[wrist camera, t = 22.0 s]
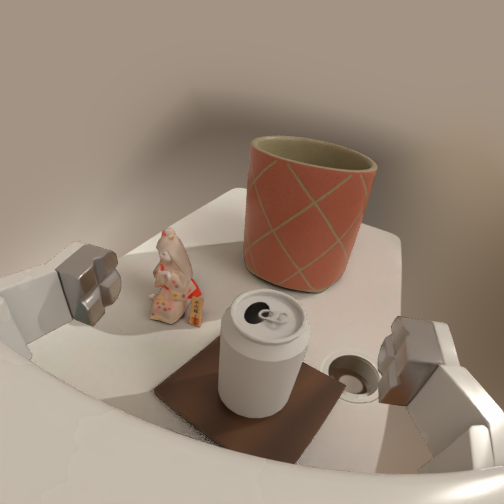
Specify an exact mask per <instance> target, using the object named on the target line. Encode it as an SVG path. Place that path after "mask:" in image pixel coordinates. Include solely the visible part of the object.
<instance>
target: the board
mask: <svg viewBox="0 0 504 504" xmlns="http://www.w3.org/2000/svg"><path fill="white" fill-rule="evenodd" d="M219 355H220V336H219V337H218V338H217V339H216V340H214V341H213V342H212V343H211V344H210V345H208V346H207V347H206V348H205V349H203V350H202V351H201V352H200V353H199V354H197V355H196V356H195V357H194V358H192V359H191V360H190V361H189V362H187V363H186V364H185V365H184V366H183V367H181V368H180V369H179V370H178V371H176V372H175V373H174V374H172V375H171V376H170V377H169V378H167V379H166V380H165V381H164V382H162V383H161V384H160V385H159V386H157V387H156V388H155V389H154V392H155V394H156V395H157V396H158V397H159V398H160V399H161V400H162V401H164V402H165V403H166V404H167V405H168V406H169V407H171V408H172V409H173V410H174V411H175V412H177V413H178V414H179V415H180V416H182V417H183V418H184V419H185V420H187V421H188V422H189V423H190V424H192V425H193V426H194V427H195V428H197V429H198V430H199V431H201V432H202V433H203V434H205V435H206V436H207V437H209V438H210V439H211V440H213V441H214V442H215V443H217V444H218V445H220V446H221V447H222V448H225V449H229V450H233V451H237V452H240V453H244V454H248V455H253V456H257V457H261V458H266V459H270V460H275V461H280V462H285V463H291V464H295V463H296V462H297V460H298V459H299V457H300V456H301V455H302V453H303V452H304V451H305V449H306V448H307V446H308V445H309V443H310V442H311V441H312V439H313V438H314V436H315V435H316V433H317V432H318V430H319V429H320V427H321V426H322V424H323V423H324V421H325V420H326V418H327V417H328V415H329V413H330V412H331V410H332V409H333V407H334V405H335V404H336V402H337V401H338V399H339V397H340V396H341V394H342V392H343V391H344V389H345V387H346V385H344V384H343V383H341V382H339V381H337V380H335V379H333V378H331V377H329V376H328V375H326V374H324V373H322V372H320V371H318V370H316V369H315V368H313V367H311V366H309V365H307V364H305V363H304V362H302V364H301V367H300V370H299V372H298V375H297V378H296V380H295V383H294V386H293V388H292V391H291V394H290V396H289V399H288V401H287V403H286V404H285V405H284V407H283V408H282V409H281V410H280V411H278V412H277V413H275V414H273V415H271V416H267V417H264V418H248V417H245V416H241V415H238V414H236V413H235V412H233V411H232V410H230V409H229V408H227V406H226V405H225V404H224V403H223V401H222V400H221V398H220V395H219V392H218V377H219Z"/></svg>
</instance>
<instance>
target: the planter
mask: <svg viewBox="0 0 504 504" xmlns="http://www.w3.org/2000/svg"><path fill="white" fill-rule="evenodd" d="M248 170H249V171H248V183H247V198H246V215H245V231H244V247H243V250H244V258H245V263H246V267H247V269H248V270H249V271H250V272H251V273H253V274H254V275H256V276H258V277H260V278H262V279H264V280H266V281H268V282H270V283H273V284H275V285H278V286H281V287H285V288H289V289H294V290H299V291H306V292H314V293H320V292H323V291H325V290H326V289H327V288H328V287H329V286H331V285H332V284H334V283H335V282H336V281H338V280H339V279H340V278H341V276H342V275H343V273H344V271H345V269H346V266H347V263H348V260H349V257H350V254H351V251H352V249H353V246H354V243H355V240H356V237H357V234H358V231H359V228H360V225H361V222H362V218H363V216H364V212H365V209H366V206H367V203H368V199H369V196H370V192H371V189H372V185H373V182H374V178H375V174H376V171H377V165H376V164H375V162H374V161H372V160H371V159H370V158H368V157H366V156H365V155H363V154H361V153H358V152H356V151H354V150H351V149H348V148H345V147H342V146H339V145H336V144H332V143H328V142H324V141H319V140H314V139H308V138H301V137H291V136H265V137H260V138H256V139H254V140H252V141H251V144H250V157H249V169H248Z"/></svg>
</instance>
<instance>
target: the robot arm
mask: <svg viewBox="0 0 504 504" xmlns="http://www.w3.org/2000/svg"><path fill="white" fill-rule="evenodd" d="M117 265H118V261H117V256H116V254H115V253H114V252H113V251H111V250H107V249H104V248H101V247H97V246H94V245H91V244H87V243H83V242H80V241H74V242H72V243H71V244H70V245H68V246H67V247H66V248H64V249H63V250H62V251H61V252H59V253H58V254H57V255H56V256H54V257H53V258H52V259H51V260H49V261H48V262H47V263H46V264H44V265H37V266H34V267H31V268H28V269H25V270H22V271H19V272H16V273H13V274H10V275H8V276H4V277H1V278H0V504H504V412H503V411H502V410H501V409H500V407H499V406H498V405H497V404H496V403H495V402H494V400H493V399H492V398H491V397H490V396H489V394H488V393H487V392H486V391H485V390H484V389H483V387H482V386H481V385H480V384H479V383H478V382H477V381H476V380H475V378H474V377H473V376H472V375H471V374H470V373H469V372H468V371H467V369H466V368H465V367H460V364H459V360H458V357H457V353H456V350H455V346H454V343H453V340H452V336H451V333H450V330H449V327H448V325H447V324H446V323H441V322H435V321H425V320H419V319H414V318H408V317H402V316H397V317H396V319H395V320H394V322H393V324H392V325H391V331H392V334H391V335H389V336H388V337H386V338H385V339H384V341H383V343H382V345H381V348H380V352H379V355H378V371H379V373H380V374H381V375H382V378H381V380H380V381H379V383H378V391H379V403H384V404H392V405H399V406H407V407H406V409H407V411H408V413H409V414H410V416H411V418H412V420H413V421H414V423H415V425H416V427H417V428H418V430H419V432H420V434H421V436H422V438H423V439H424V441H425V443H426V445H427V447H428V449H429V451H430V452H431V454H432V456H433V459H431V460H430V461H428V462H427V463H426V464H424V465H423V466H421V467H420V468H419V469H418V470H417V474H381V473H363V472H350V471H340V470H331V469H323V468H316V467H309V466H303V465H297V464H291V463H285V462H280V461H275V460H270V459H266V458H261V457H257V456H253V455H248V454H244V453H240V452H237V451H233V450H229V449H225V448H222V447H218V446H215V445H212V444H208V443H205V442H202V441H199V440H196V439H193V438H190V437H187V436H184V435H181V434H178V433H175V432H173V431H170V430H167V429H165V428H162V427H159V426H157V425H154V424H152V423H149V422H147V421H144V420H142V419H140V418H137V417H135V416H133V415H130V414H128V413H126V412H124V411H121V410H119V409H117V408H115V407H113V406H111V405H109V404H106V403H104V402H102V401H100V400H98V399H96V398H94V397H92V396H90V395H88V394H87V393H85V392H83V391H81V390H79V389H77V388H75V387H74V386H72V385H70V384H68V383H66V382H65V381H63V380H61V379H59V378H58V377H56V376H54V375H53V374H51V373H49V372H48V371H46V370H44V369H43V368H41V367H40V366H38V365H37V364H35V363H33V362H32V361H30V360H31V359H32V354H31V352H30V350H29V348H28V346H27V344H29V343H31V342H33V341H34V340H36V339H38V338H40V337H42V336H44V335H46V334H47V333H49V332H51V331H53V330H55V329H57V328H59V327H61V326H62V325H64V324H66V323H68V322H70V321H72V320H73V319H75V320H77V321H80V322H82V323H85V324H87V325H90V326H92V327H93V326H94V325H95V324H96V323H97V322H98V320H99V319H100V318H101V317H102V316H103V315H104V313H105V307H106V306H109V305H111V304H113V303H114V302H115V300H116V299H117V298H118V296H119V293H120V290H121V277H120V275H119V273H118V272H117V270H116V269H115V268H116V266H117Z"/></svg>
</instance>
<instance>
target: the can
mask: <svg viewBox="0 0 504 504" xmlns="http://www.w3.org/2000/svg"><path fill="white" fill-rule="evenodd" d="M310 337H311V329H310V324H309V322H308V318H307V314H306V311H305V309H304V308H303V306H302V305H301V303H299V302H298V301H297V300H296V299H295V298H293V297H292V296H290V295H288V294H286V293H284V292H280V291H277V290H273V289H256V290H250V291H248V292H245V293H242V294H241V295H239V296H238V297H237V298H236V299H234V301H233V303H232V304H231V306H230V307H229V308H228V309H227V310H226V312H225V313H224V315H223V317H222V321H221V335H220V355H219V377H218V392H219V395H220V398H221V400H222V401H223V403H224V404H225V405H226V406H227V408H229V409H230V410H232V411H233V412H235V413H236V414H238V415H241V416H245V417H248V418H264V417H267V416H271V415H273V414H275V413H277V412H278V411H280V410H281V409H282V408H283V407H284V405H285V404H286V403H287V401H288V399H289V396H290V394H291V391H292V388H293V386H294V383H295V380H296V378H297V375H298V372H299V370H300V367H301V364H302V361H303V359H304V356H305V353H306V350H307V347H308V344H309V341H310Z"/></svg>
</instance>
